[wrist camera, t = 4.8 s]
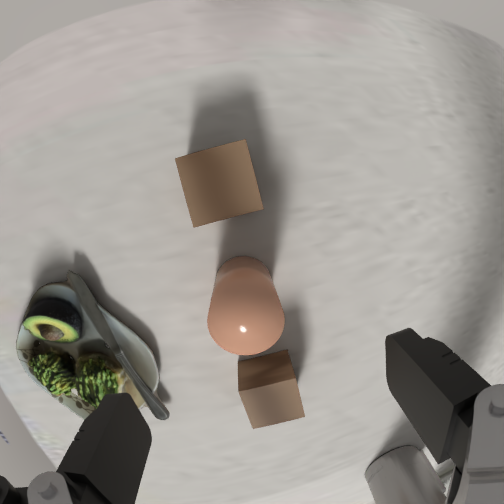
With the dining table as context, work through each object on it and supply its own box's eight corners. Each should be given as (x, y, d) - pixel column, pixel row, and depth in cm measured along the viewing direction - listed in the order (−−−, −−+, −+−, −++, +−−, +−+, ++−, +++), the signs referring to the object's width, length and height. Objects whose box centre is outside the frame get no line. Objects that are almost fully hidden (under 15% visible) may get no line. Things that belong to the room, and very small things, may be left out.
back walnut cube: (287, 349, 29) (295, 378, 24) (296, 386, 30) (304, 416, 26) (237, 361, 29) (238, 391, 24) (250, 397, 30) (253, 428, 26)
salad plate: (212, 366, 30) (209, 394, 25) (132, 443, 32) (124, 468, 28) (62, 246, 26) (37, 257, 22) (14, 352, 29) (-5, 370, 24)
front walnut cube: (243, 147, 25) (245, 139, 20) (258, 204, 26) (263, 209, 21) (186, 162, 25) (175, 158, 20) (201, 219, 26) (193, 227, 21)
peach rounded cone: (278, 263, 27) (294, 296, 19) (262, 314, 28) (271, 361, 20) (223, 249, 27) (217, 277, 19) (209, 302, 28) (200, 345, 20)
